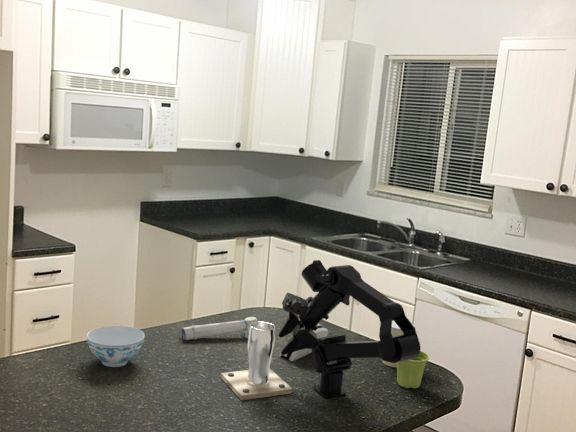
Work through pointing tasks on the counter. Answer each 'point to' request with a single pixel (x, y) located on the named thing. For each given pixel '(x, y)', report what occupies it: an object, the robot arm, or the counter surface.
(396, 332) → the cream lidded tub
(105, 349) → the chinaware
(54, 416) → the counter surface
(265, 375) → the metal tumbler
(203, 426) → the counter surface
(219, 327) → the grey long bar
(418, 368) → the plant pot
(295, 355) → the white layered curved block
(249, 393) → the bolt plate
